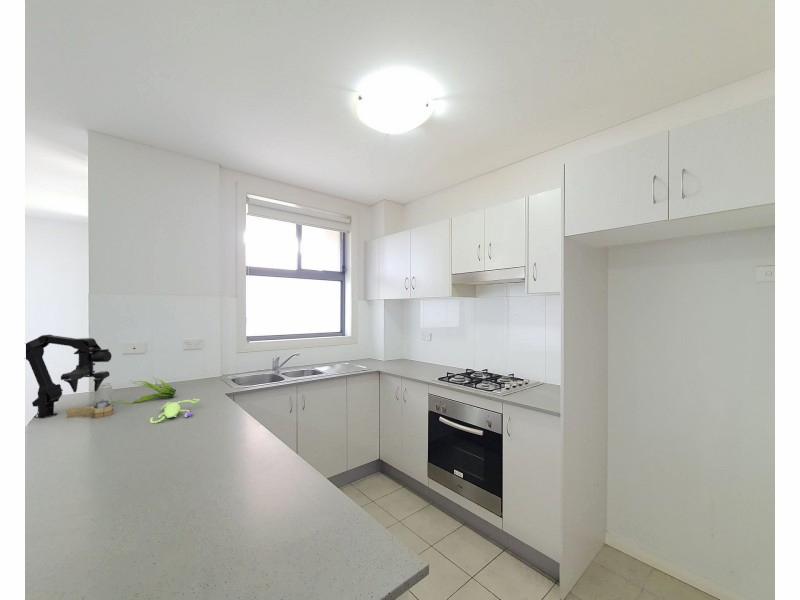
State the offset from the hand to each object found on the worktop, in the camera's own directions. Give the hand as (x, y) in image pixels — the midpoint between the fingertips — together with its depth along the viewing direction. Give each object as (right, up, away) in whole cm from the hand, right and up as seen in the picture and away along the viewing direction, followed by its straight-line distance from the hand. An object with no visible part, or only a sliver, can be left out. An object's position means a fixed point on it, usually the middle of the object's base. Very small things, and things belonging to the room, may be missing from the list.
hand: (85, 391), depth 171 cm
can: (-6, -12, +16) cm, 21 cm away
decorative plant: (+13, -13, +23) cm, 29 cm away
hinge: (+6, -12, 0) cm, 13 cm away
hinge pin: (+10, -12, -1) cm, 16 cm away
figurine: (+46, -13, +3) cm, 48 cm away
